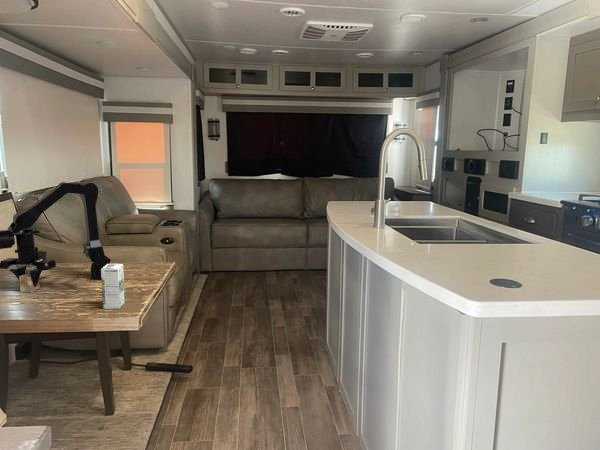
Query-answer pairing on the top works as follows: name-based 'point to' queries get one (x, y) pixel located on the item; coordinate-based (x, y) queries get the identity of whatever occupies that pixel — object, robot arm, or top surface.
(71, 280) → the board
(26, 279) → the gauge
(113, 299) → the syrup box
